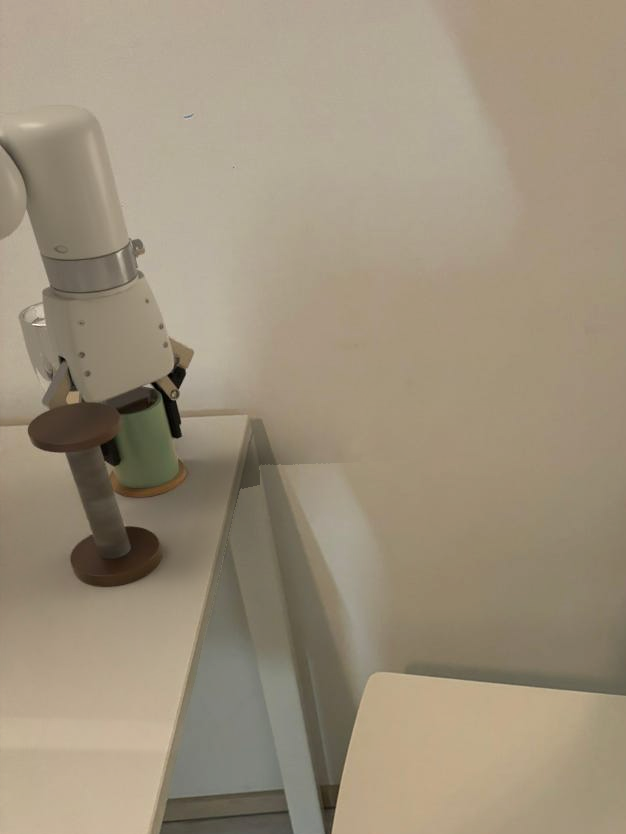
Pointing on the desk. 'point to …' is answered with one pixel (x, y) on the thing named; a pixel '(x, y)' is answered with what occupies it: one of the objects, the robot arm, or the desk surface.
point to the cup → (144, 440)
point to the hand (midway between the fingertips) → (140, 445)
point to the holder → (96, 494)
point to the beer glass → (40, 347)
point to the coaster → (153, 490)
